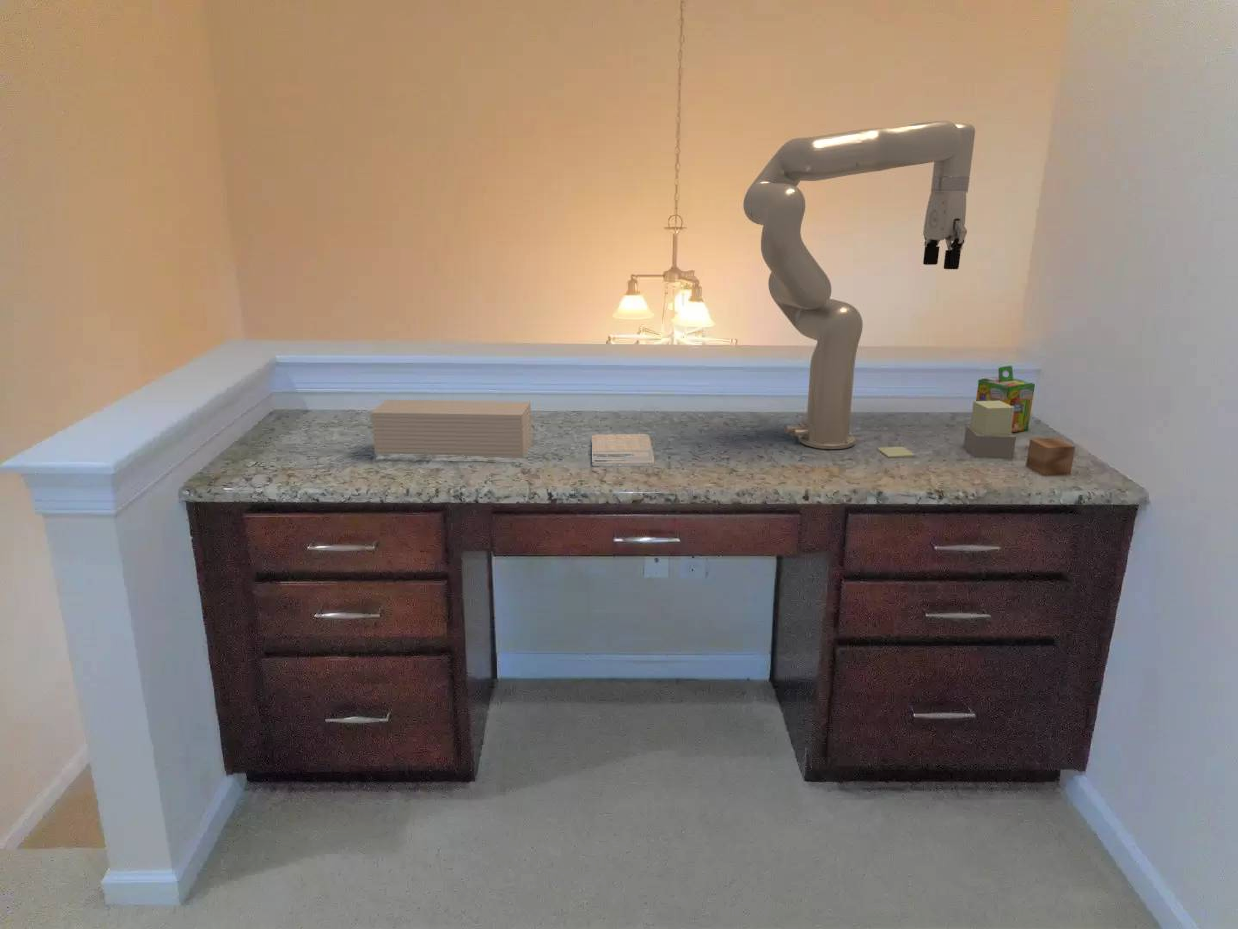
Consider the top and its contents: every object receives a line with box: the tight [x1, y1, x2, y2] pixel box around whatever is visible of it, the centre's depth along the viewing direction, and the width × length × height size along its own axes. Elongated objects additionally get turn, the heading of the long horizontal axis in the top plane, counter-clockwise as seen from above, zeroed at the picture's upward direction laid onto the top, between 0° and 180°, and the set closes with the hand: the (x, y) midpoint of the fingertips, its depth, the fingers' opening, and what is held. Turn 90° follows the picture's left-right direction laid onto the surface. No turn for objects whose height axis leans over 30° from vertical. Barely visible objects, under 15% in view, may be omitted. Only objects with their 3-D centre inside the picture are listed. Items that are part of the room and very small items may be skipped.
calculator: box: [591, 433, 655, 464], centre depth 189 cm, size 13×20×2 cm, turn 2°
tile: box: [876, 446, 916, 459], centre depth 188 cm, size 6×6×1 cm
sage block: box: [969, 400, 1015, 436], centre depth 186 cm, size 6×6×6 cm
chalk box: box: [975, 365, 1036, 434], centre depth 203 cm, size 9×9×15 cm
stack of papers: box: [370, 399, 533, 458], centre depth 187 cm, size 32×11×11 cm, turn 86°
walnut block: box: [1025, 437, 1076, 477], centre depth 176 cm, size 6×6×6 cm
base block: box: [963, 425, 1017, 459], centre depth 188 cm, size 8×8×5 cm
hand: (940, 266), depth 191 cm, fingers open, 9 cm apart
